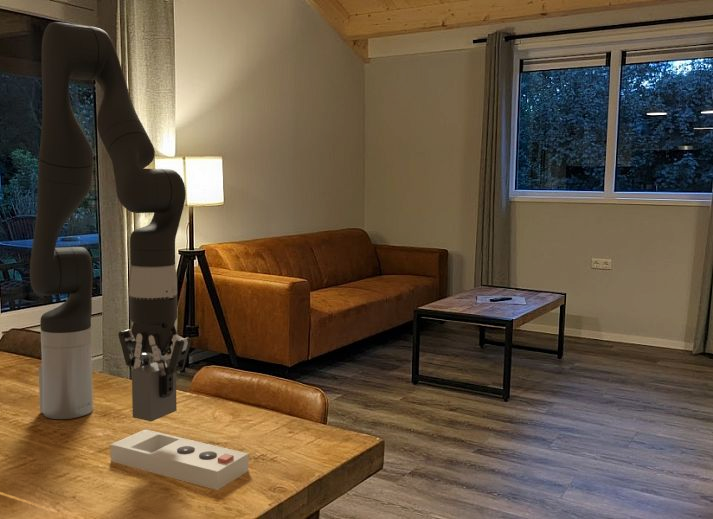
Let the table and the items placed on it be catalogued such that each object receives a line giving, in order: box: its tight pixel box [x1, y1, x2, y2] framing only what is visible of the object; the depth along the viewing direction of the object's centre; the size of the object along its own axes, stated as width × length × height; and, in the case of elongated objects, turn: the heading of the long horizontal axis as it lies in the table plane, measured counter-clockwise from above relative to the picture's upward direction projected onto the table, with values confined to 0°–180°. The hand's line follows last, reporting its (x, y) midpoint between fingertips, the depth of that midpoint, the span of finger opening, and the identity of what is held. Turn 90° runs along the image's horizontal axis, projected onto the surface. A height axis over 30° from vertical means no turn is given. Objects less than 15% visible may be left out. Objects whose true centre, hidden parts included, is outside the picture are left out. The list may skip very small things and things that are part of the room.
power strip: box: [110, 429, 249, 491], centre depth 114 cm, size 23×8×4 cm, turn 64°
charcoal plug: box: [131, 361, 178, 422], centre depth 115 cm, size 4×6×8 cm, turn 154°
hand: (154, 393), depth 115 cm, fingers closed on charcoal plug, 4 cm apart
